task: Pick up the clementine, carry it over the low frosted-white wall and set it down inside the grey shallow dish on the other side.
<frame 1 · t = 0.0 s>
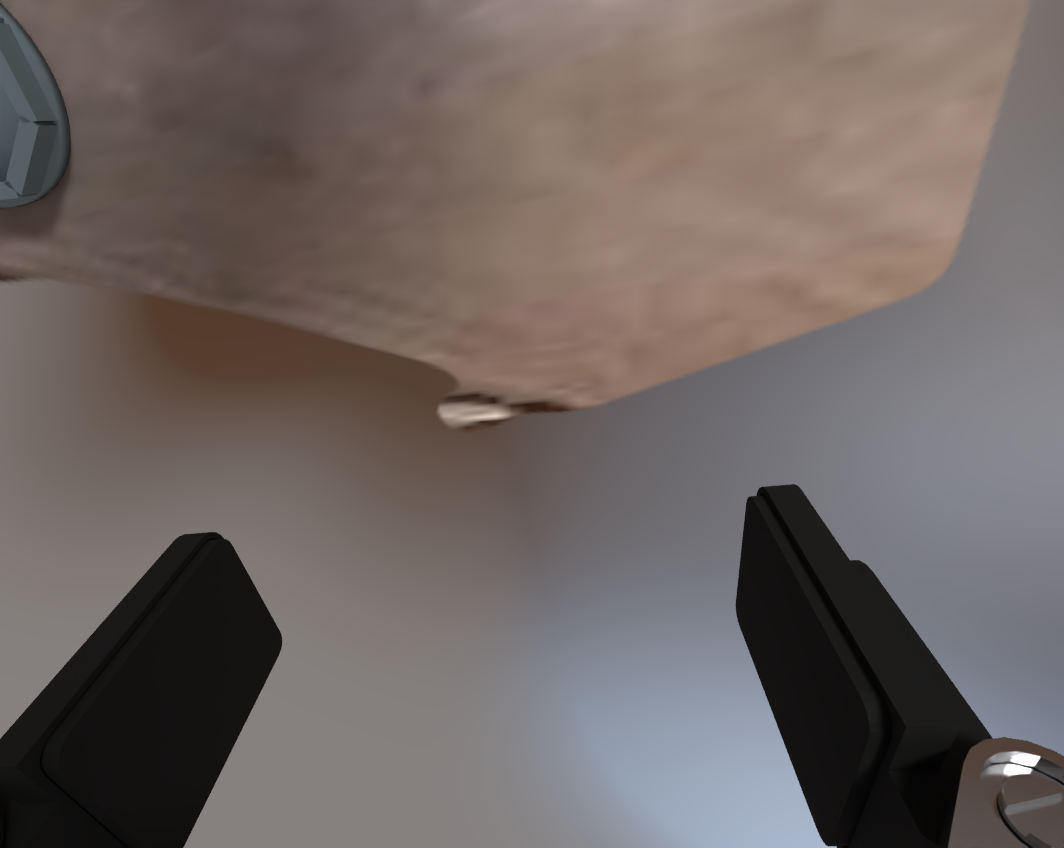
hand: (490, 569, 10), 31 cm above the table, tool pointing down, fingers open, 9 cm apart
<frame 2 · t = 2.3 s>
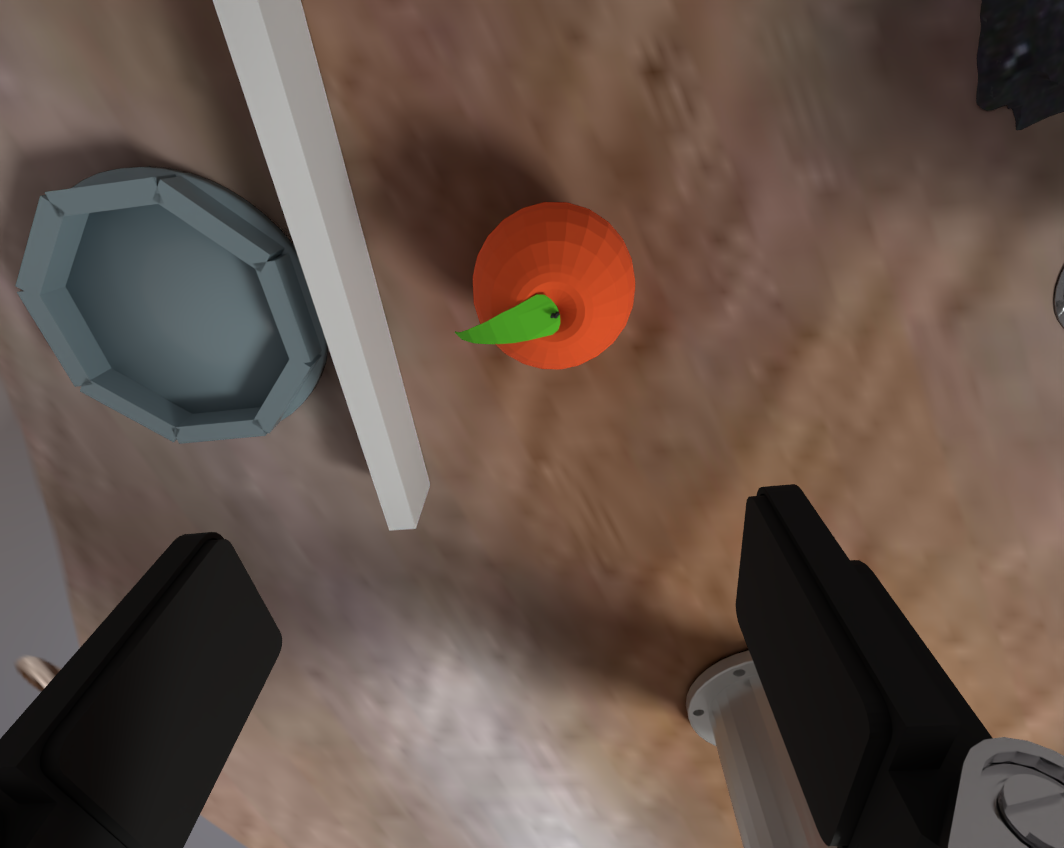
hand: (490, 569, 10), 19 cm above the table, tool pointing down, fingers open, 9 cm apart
clementine: (542, 272, 26), on the table
grey shallow dish: (195, 312, 27), on the table
low wall: (364, 293, 26), on the table
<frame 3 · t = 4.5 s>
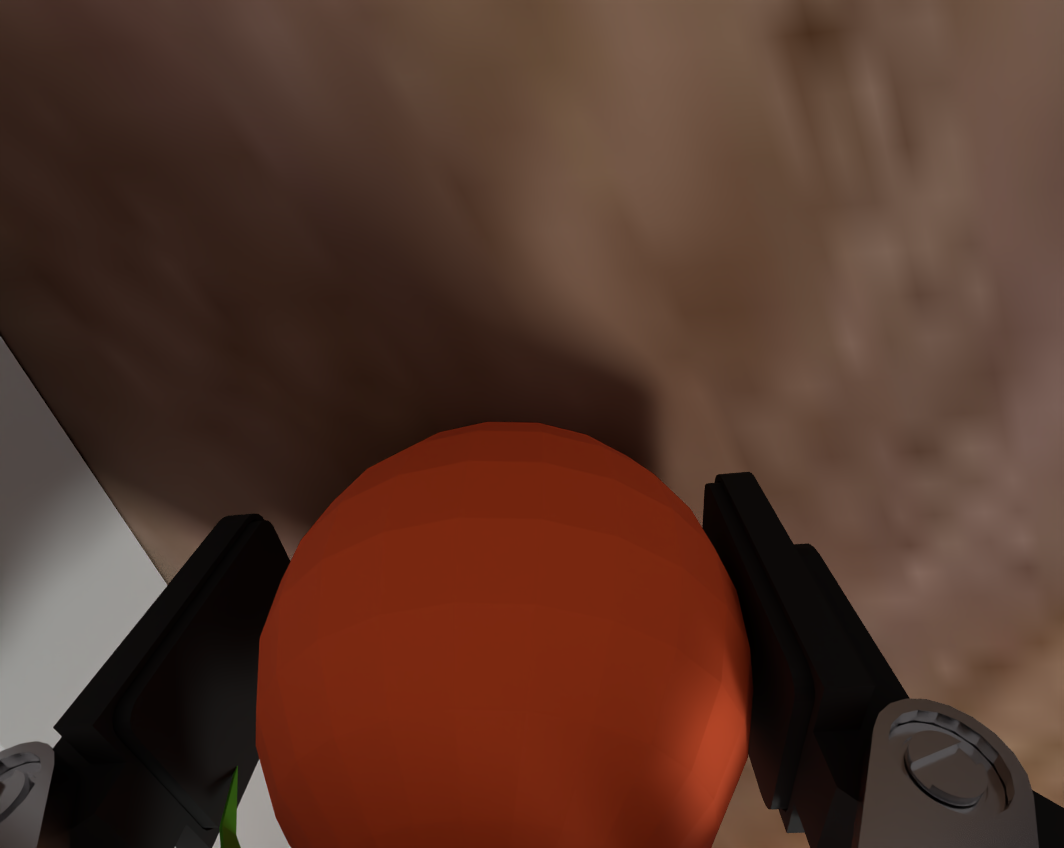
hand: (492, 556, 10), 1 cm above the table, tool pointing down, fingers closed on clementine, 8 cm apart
clementine: (495, 504, 11), on the table, touching gripper
low wall: (106, 543, 12), on the table
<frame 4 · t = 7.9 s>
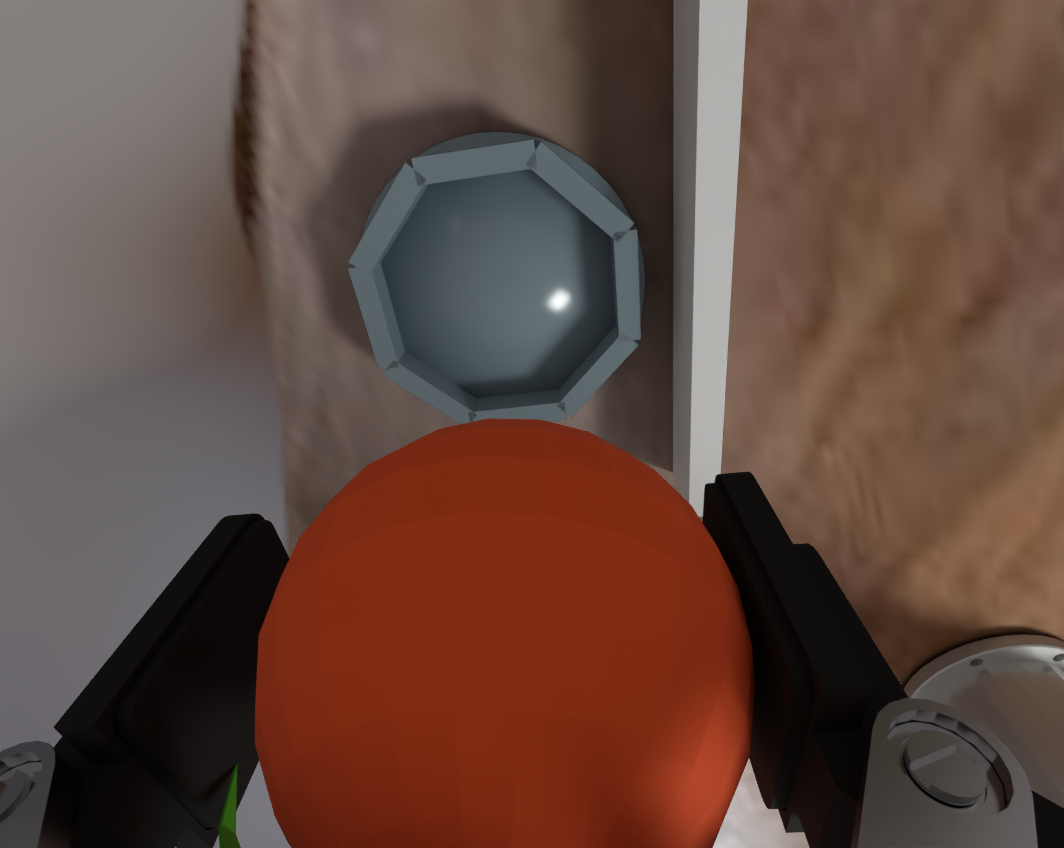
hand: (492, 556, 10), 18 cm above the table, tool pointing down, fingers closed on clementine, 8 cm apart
clementine: (496, 502, 11), point 17 cm above the table, touching gripper
grey shallow dish: (502, 290, 26), on the table
low wall: (689, 266, 25), on the table
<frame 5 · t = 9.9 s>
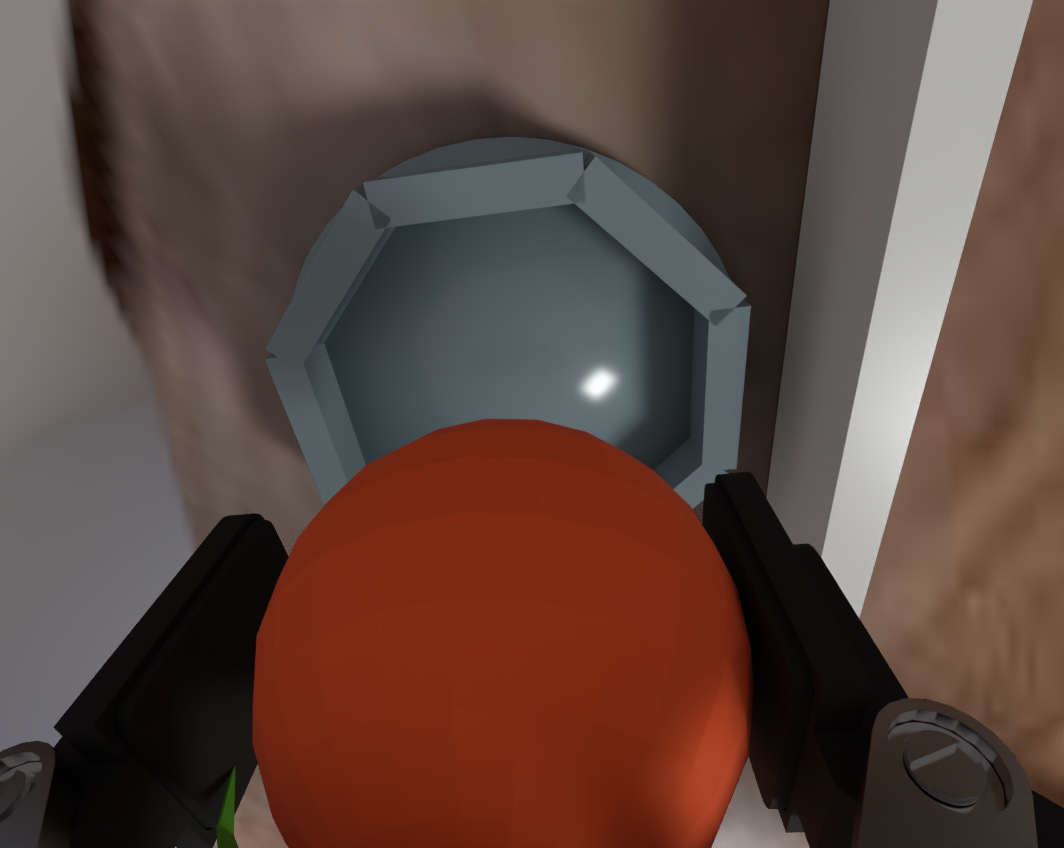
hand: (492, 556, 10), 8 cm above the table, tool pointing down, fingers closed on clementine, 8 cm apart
clementine: (495, 502, 11), point 6 cm above the table, touching gripper
grey shallow dish: (515, 380, 17), on the table
low wall: (810, 351, 16), on the table
when the fingers open (4 cm above the table, at t = 11.4 s): clementine drops 2 cm, resting on grey shallow dish.
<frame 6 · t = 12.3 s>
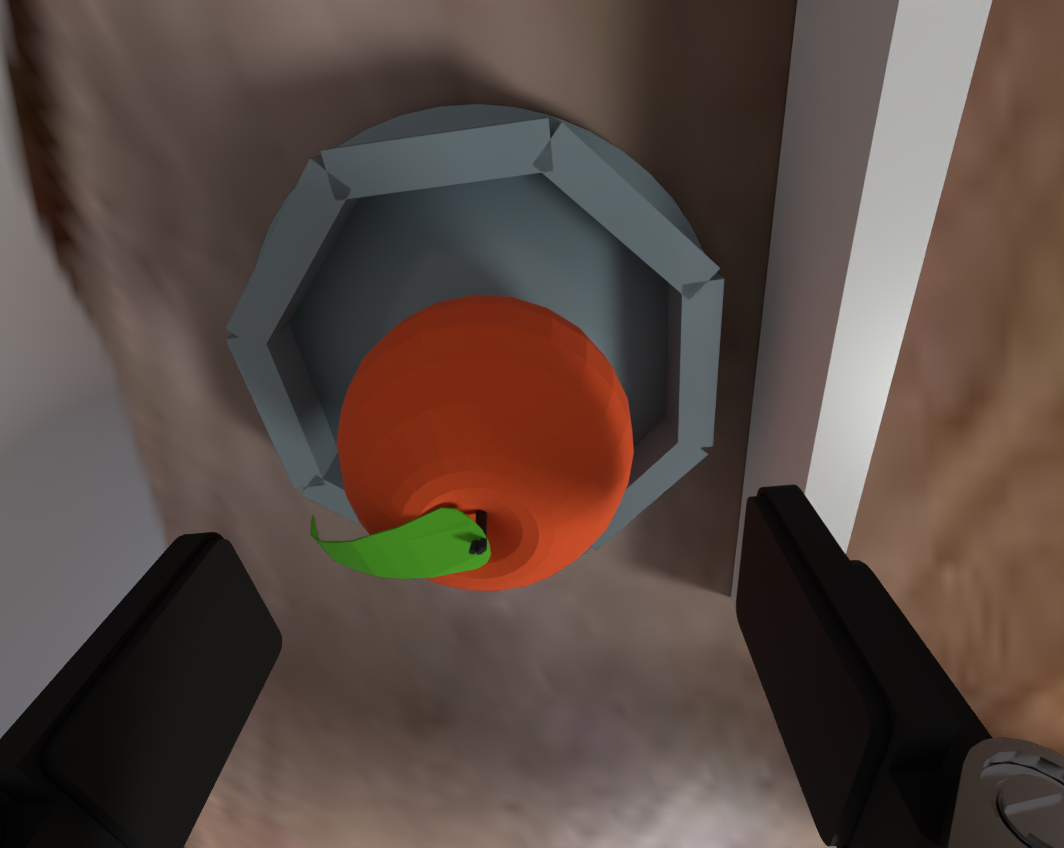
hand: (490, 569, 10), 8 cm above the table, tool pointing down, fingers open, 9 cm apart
clementine: (480, 379, 16), point 1 cm above the table, touching grey shallow dish
grey shallow dish: (489, 360, 16), on the table
low wall: (786, 326, 16), on the table
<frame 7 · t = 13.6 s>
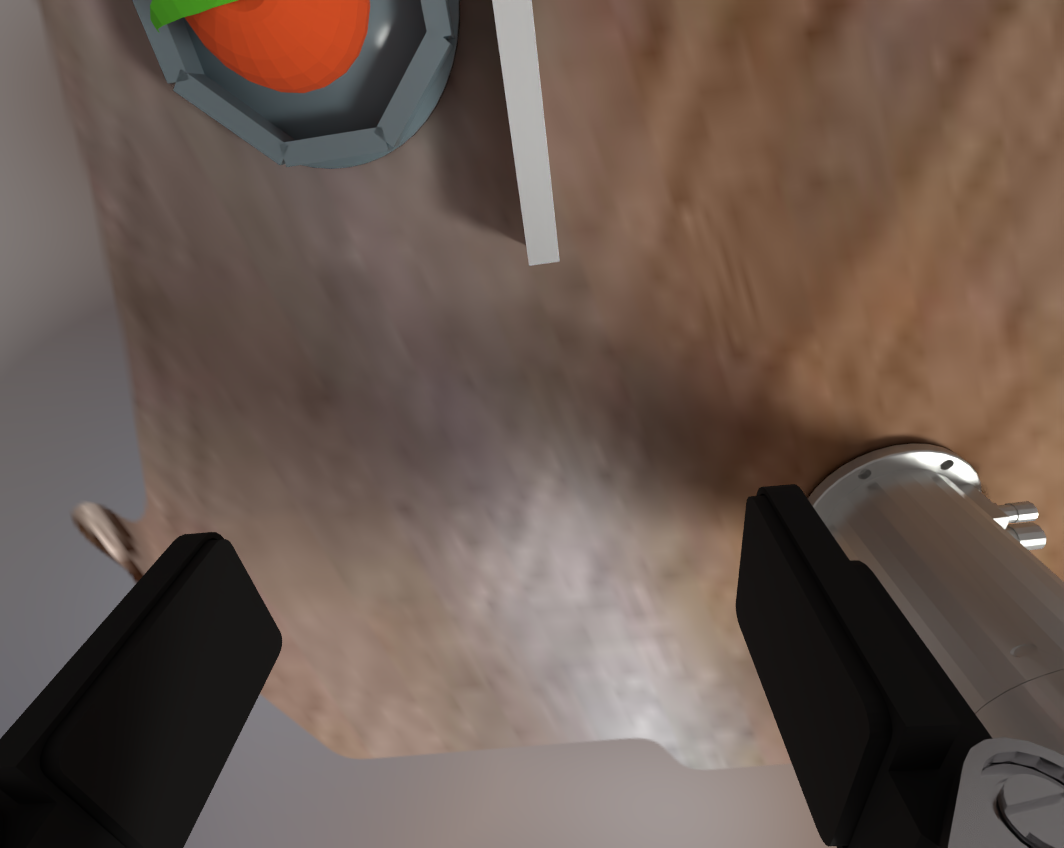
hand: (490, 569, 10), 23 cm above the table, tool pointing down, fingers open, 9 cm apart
clementine: (296, 4, 23), point 1 cm above the table, touching grey shallow dish
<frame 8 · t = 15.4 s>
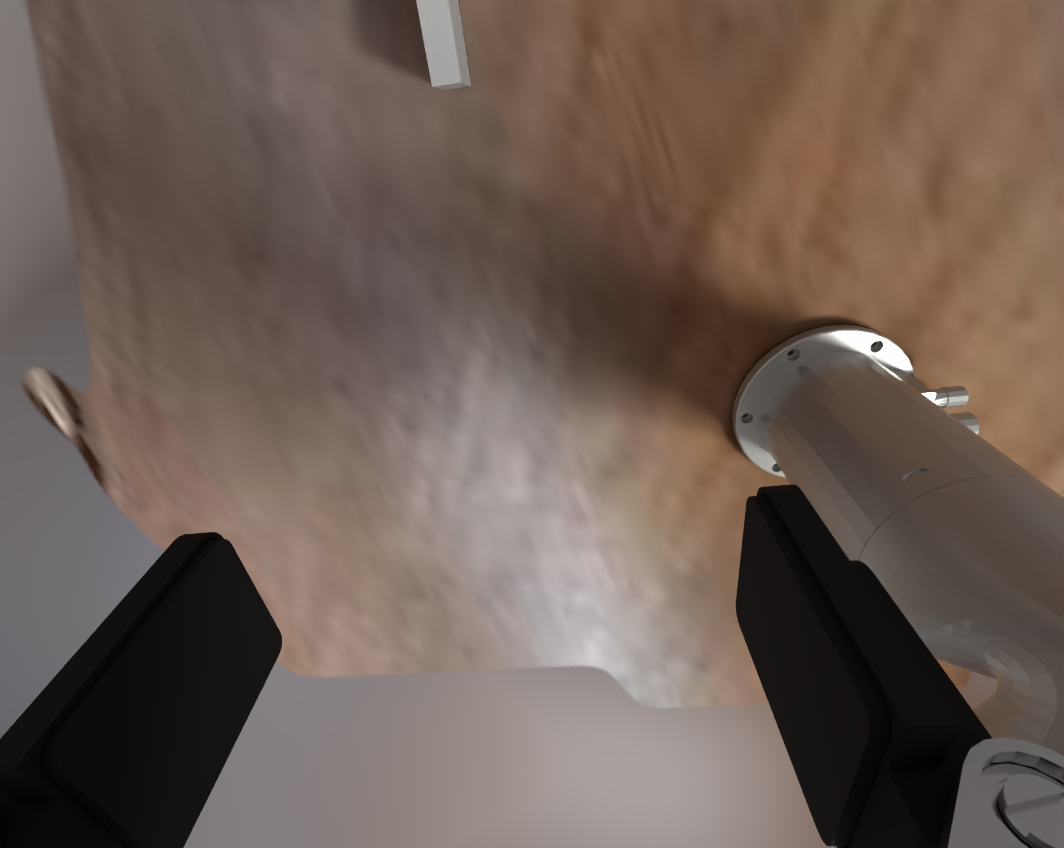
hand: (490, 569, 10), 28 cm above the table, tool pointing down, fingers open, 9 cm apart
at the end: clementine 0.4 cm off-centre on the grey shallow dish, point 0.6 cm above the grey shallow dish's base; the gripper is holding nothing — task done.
